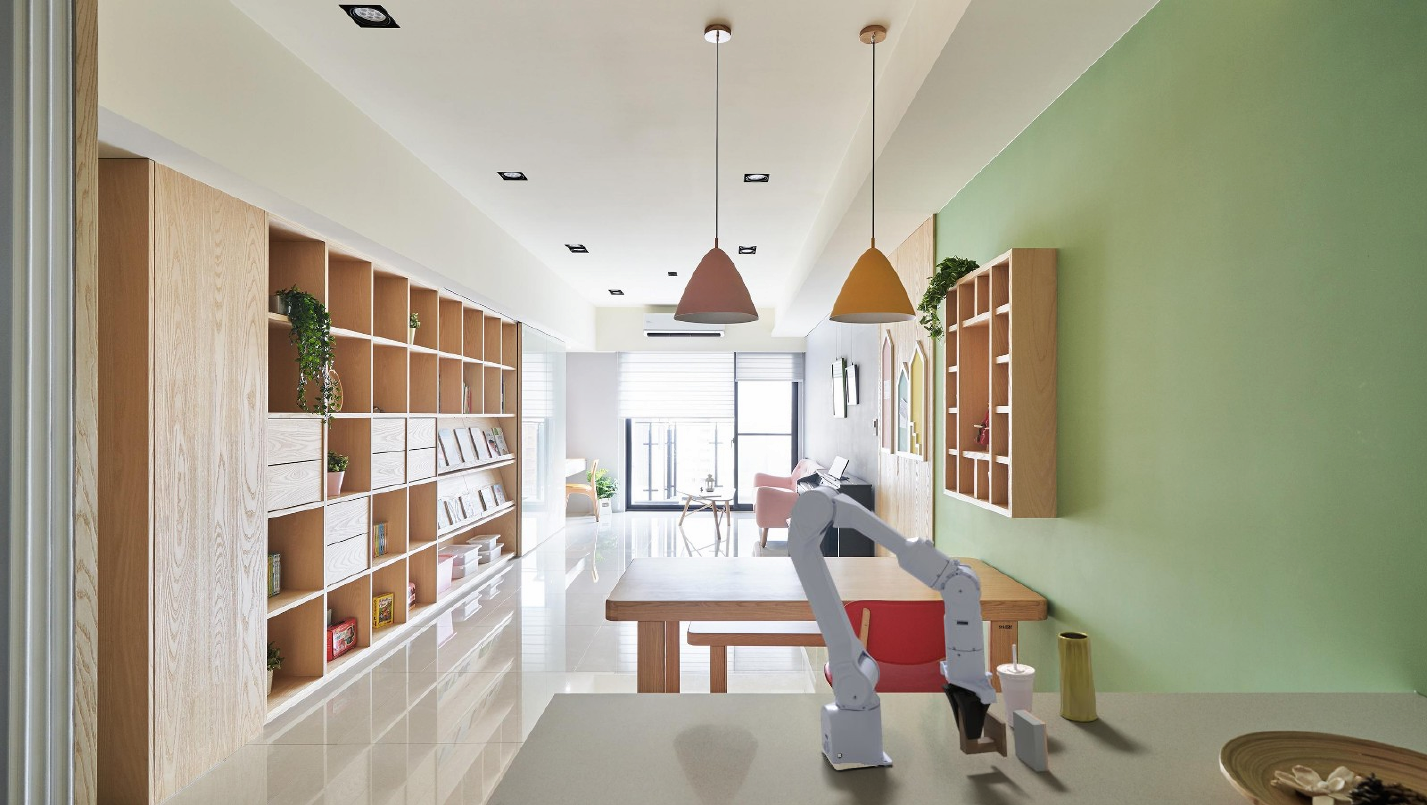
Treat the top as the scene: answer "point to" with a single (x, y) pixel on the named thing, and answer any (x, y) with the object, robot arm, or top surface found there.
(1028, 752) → the tile
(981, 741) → the u-shaped wooden bracket
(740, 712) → the top surface
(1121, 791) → the top surface
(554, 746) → the top surface
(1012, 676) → the smoothie
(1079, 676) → the vase
